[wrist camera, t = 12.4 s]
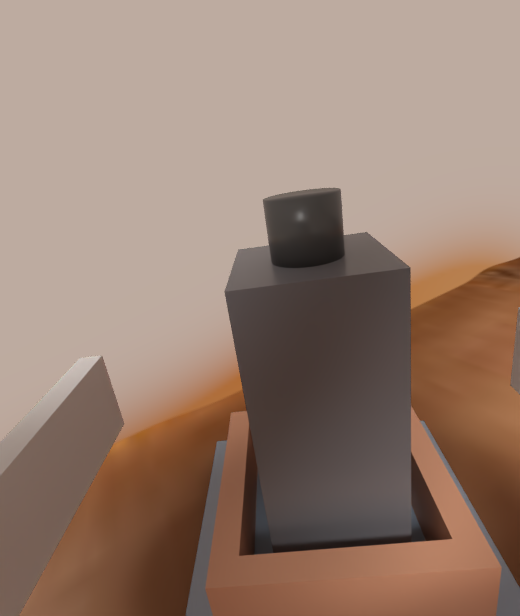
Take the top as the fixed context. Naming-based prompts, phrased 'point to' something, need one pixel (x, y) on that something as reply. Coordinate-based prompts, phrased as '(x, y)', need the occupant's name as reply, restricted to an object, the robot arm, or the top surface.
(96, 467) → the robot arm
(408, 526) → the bottle
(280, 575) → the end holder
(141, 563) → the top surface
